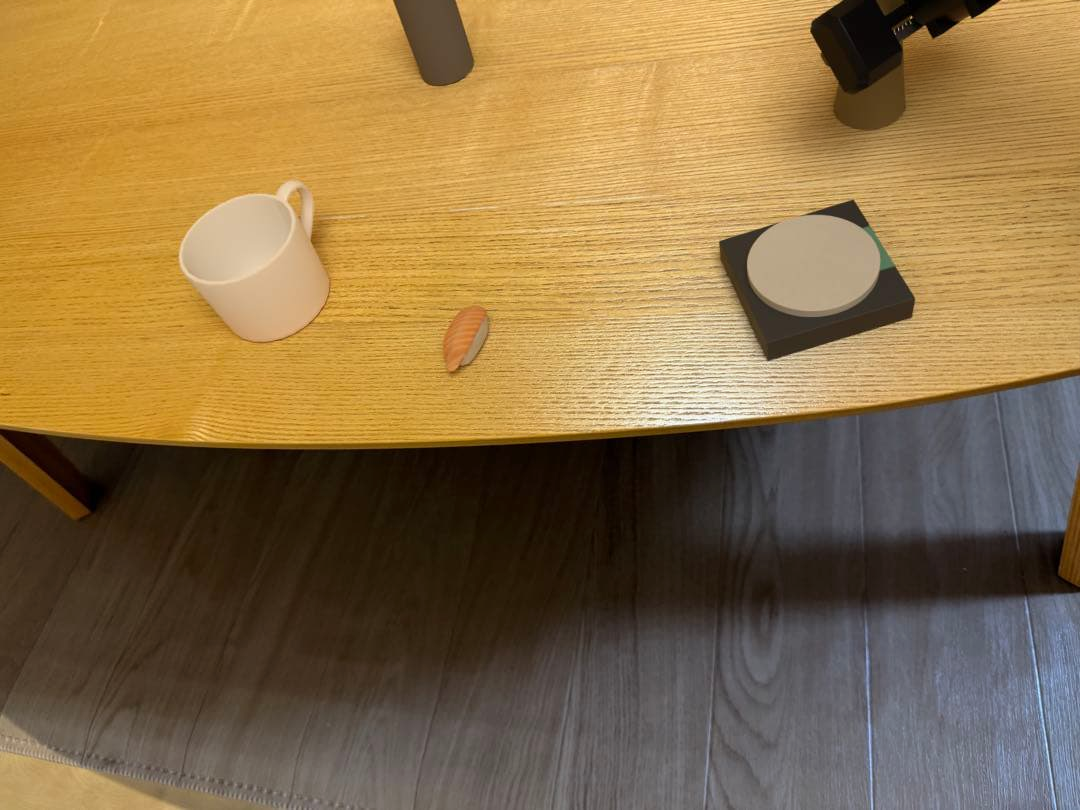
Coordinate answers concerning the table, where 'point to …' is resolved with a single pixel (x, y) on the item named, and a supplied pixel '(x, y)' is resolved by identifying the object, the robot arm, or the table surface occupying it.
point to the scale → (815, 280)
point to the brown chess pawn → (875, 93)
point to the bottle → (436, 39)
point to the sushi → (465, 336)
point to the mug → (258, 263)
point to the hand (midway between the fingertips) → (862, 33)
